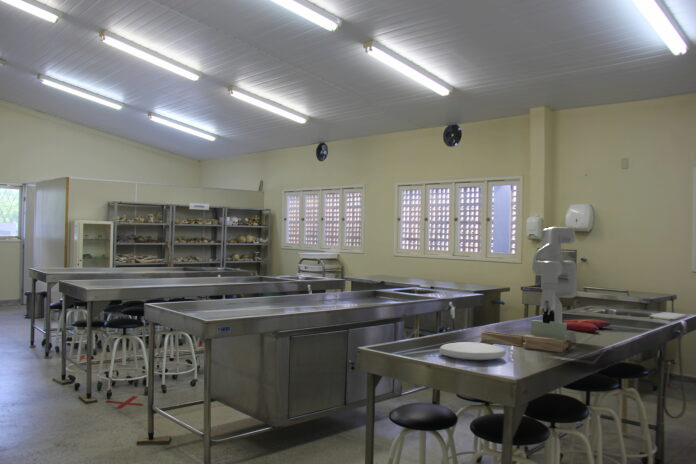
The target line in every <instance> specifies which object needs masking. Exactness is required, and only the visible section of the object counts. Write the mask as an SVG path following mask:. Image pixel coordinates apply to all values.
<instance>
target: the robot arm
mask: <svg viewBox="0 0 696 464" xmlns="http://www.w3.org/2000/svg"><path fill="white" fill-rule="evenodd" d="M540 232H541V235H540V237H541V241H542V244H543V246H542V247H541V248H539V249H538V250H537V251H536V252H535V253H534V255H533V260H532V273H533V274H534V275H535V276H540V290H541V291H542V292H541V302H540V310H542V321H543V323H550V322H558V323H563V304H562V302H561V301H560V300H559V299H558V298H567V299H572V298H575V297H576V296H577V292H578V268H577V267H578V266H577V264H576V262H575V261H574V260H565V259H563V250H562V245H563V244H565V245H566V244H567V245H570V244H574V243H575V240H576V232H575V230H574V228H573V227H570V226H551V227H548V228H544V229H542V230H541V231H540ZM558 278H561V279H558ZM562 278H563V279H562ZM564 278H565V279H564Z"/></svg>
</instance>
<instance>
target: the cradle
mask: <svg viewBox="0 0 696 464" xmlns="http://www.w3.org/2000/svg"><path fill="white" fill-rule="evenodd" d="M523 336H524V335H523V334H522V335H521V334H512V333H505V332H496V331H483V332H481V339H480V341H479V343H485V344H490V345H495V344H498V345H499V344H500V345H506V346H507V345H508V346H515V347H523V343H525V341H526V340H523Z"/></svg>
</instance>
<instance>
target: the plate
mask: <svg viewBox="0 0 696 464" xmlns="http://www.w3.org/2000/svg"><path fill="white" fill-rule="evenodd" d="M506 353H507V351H506V349H505V348H503V347H502V346H499V345H495V344H493V345H490V344H485V343H480V342H477V341H476V342H474V341H473V342H472V341H459V342H458V341H457V342H451V343H445V344H443V345H441V346H440V347H439V354H441V355H442V356H446V357H450V358H456V359H459V360H460V359H462V360H470V361H486V360H487V361H488V360H497V359H500V358H503V357H505V356H506Z"/></svg>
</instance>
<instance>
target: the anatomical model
mask: <svg viewBox="0 0 696 464" xmlns="http://www.w3.org/2000/svg"><path fill="white" fill-rule="evenodd" d="M562 323H567V328H566V330H570V331H577V332H583V333H591V332H597V331H599V330H600V329H601V328H606V327H609V326H611V325H612V323H610V322H609V321H605V320H600V319H593V318H592V319H590V318H589V319H570V320H566V321H564V322H563V321H562Z"/></svg>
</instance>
